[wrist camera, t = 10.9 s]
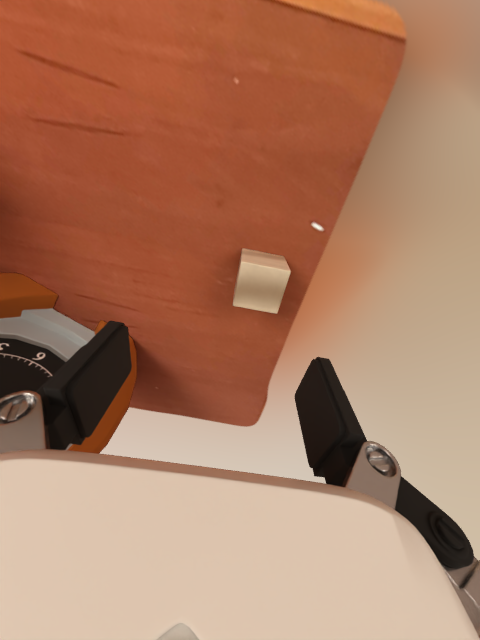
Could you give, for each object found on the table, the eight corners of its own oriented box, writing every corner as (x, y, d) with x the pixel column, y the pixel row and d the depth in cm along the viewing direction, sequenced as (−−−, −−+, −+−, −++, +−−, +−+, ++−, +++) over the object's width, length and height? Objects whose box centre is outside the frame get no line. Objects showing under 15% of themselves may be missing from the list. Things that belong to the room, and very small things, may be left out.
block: (242, 247, 22) (241, 261, 18) (284, 256, 22) (291, 271, 19) (234, 287, 24) (232, 306, 21) (272, 294, 25) (277, 314, 21)
